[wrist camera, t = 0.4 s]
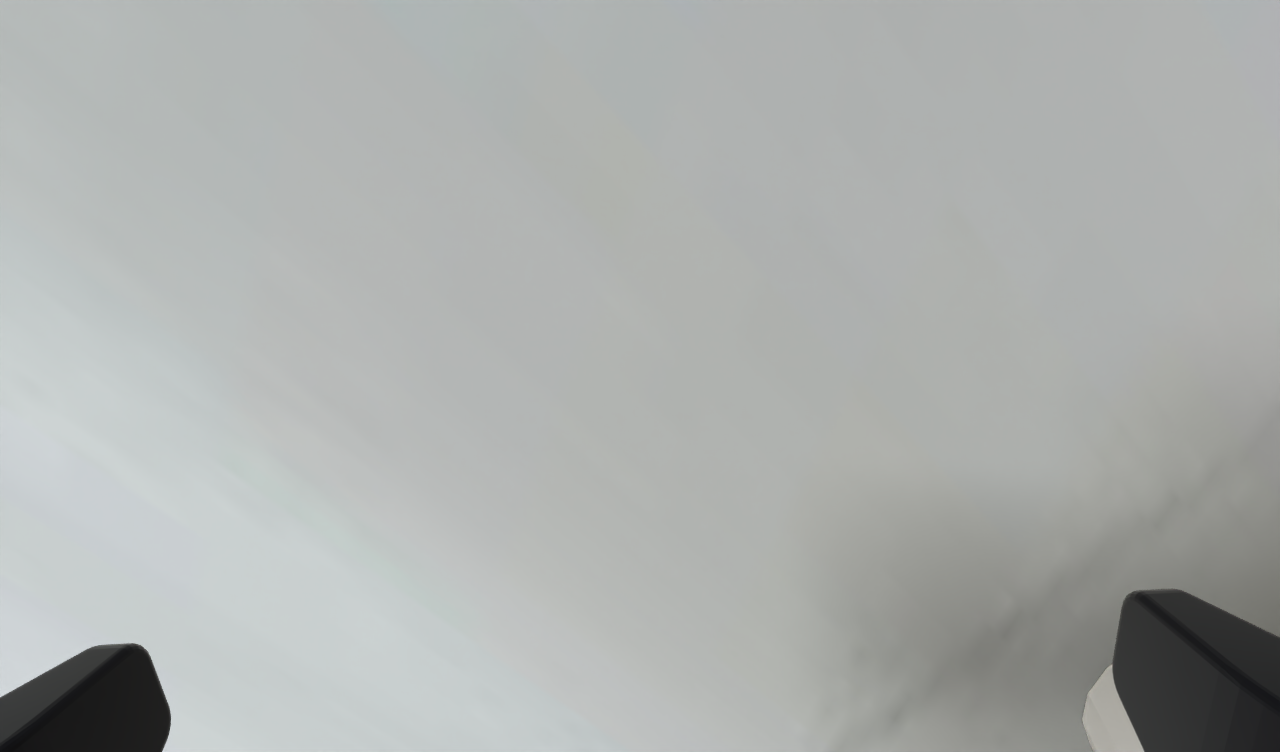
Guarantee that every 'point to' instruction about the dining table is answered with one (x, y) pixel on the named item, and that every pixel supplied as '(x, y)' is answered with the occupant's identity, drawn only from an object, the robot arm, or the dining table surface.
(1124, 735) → the shot glass
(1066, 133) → the dining table surface
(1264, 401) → the dining table surface
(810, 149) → the dining table surface
